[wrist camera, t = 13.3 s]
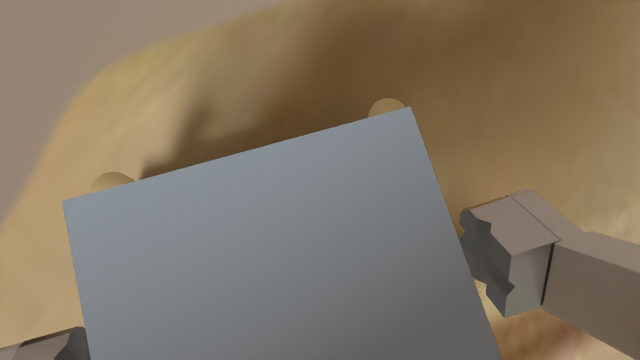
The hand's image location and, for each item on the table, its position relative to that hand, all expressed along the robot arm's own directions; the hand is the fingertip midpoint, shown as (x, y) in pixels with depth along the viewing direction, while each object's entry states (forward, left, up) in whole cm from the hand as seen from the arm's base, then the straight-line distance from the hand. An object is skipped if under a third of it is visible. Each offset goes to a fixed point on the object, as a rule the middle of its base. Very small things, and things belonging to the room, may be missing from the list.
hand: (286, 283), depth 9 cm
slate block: (0, 0, -8) cm, 9 cm away
